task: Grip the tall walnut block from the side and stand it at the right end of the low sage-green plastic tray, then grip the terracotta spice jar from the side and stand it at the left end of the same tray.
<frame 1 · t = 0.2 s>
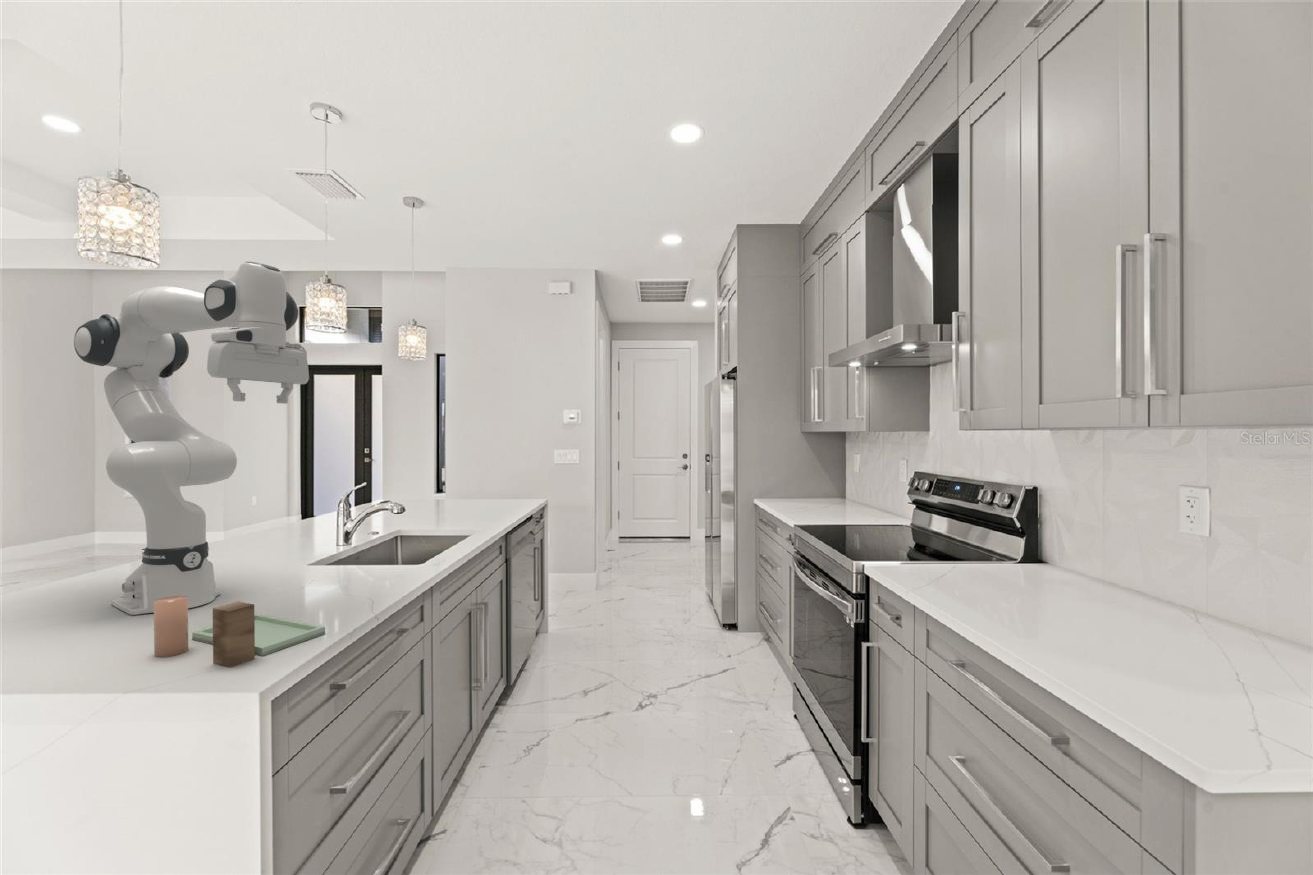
hand: (261, 402, 131), 48 cm above the worktop, tool pointing down, fingers open, 8 cm apart
walnut block: (234, 661, 110), on the worktop
tray: (259, 636, 122), on the worktop
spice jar: (171, 652, 114), on the worktop
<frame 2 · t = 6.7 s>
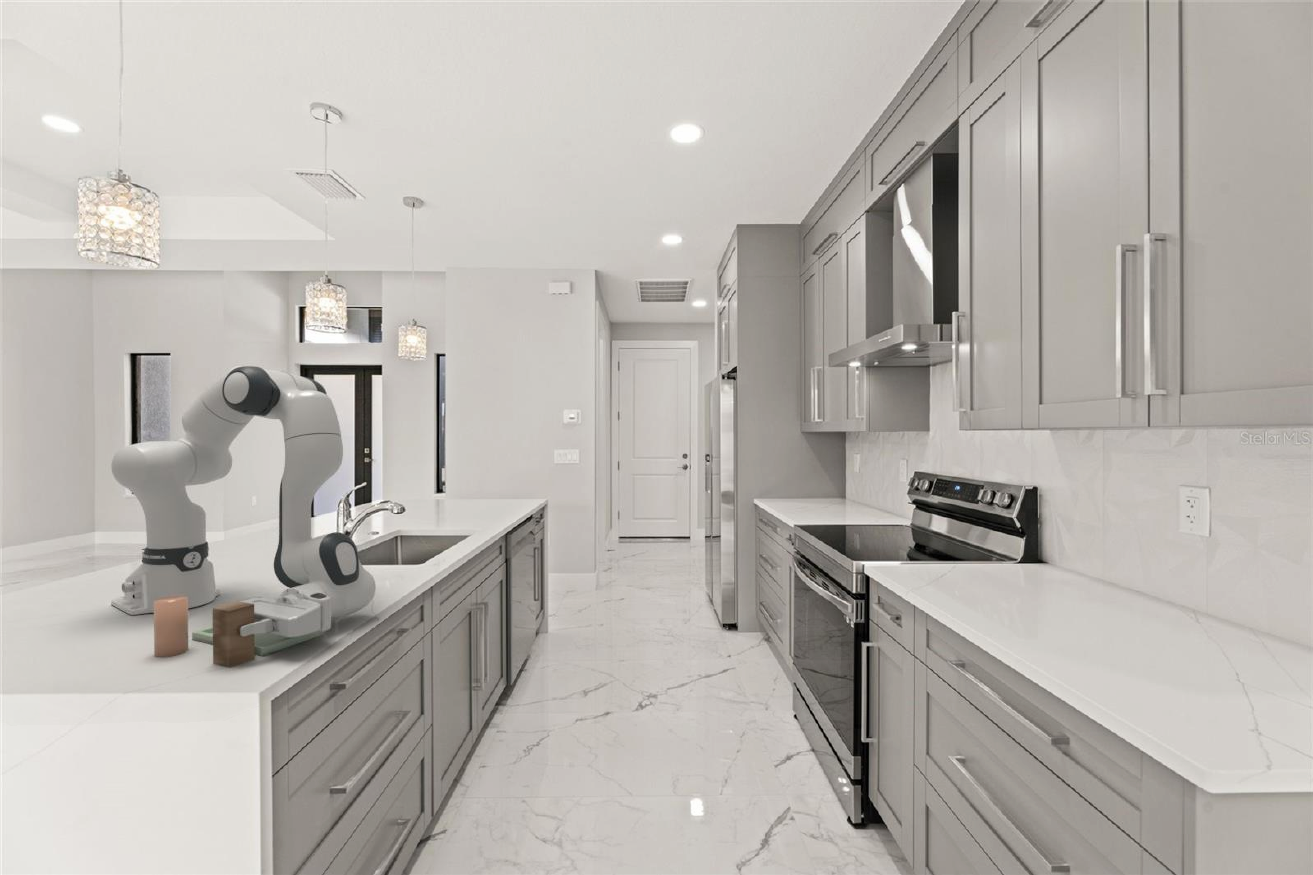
hand: (228, 629, 109), 6 cm above the worktop, tool horizontal, fingers closed on walnut block, 4 cm apart
walnut block: (234, 660, 110), on the worktop, touching gripper
everything else where it was.
when the fingers open (8 cm above the worktop, at t = 23.3 s): walnut block stays where it is, resting on tray.
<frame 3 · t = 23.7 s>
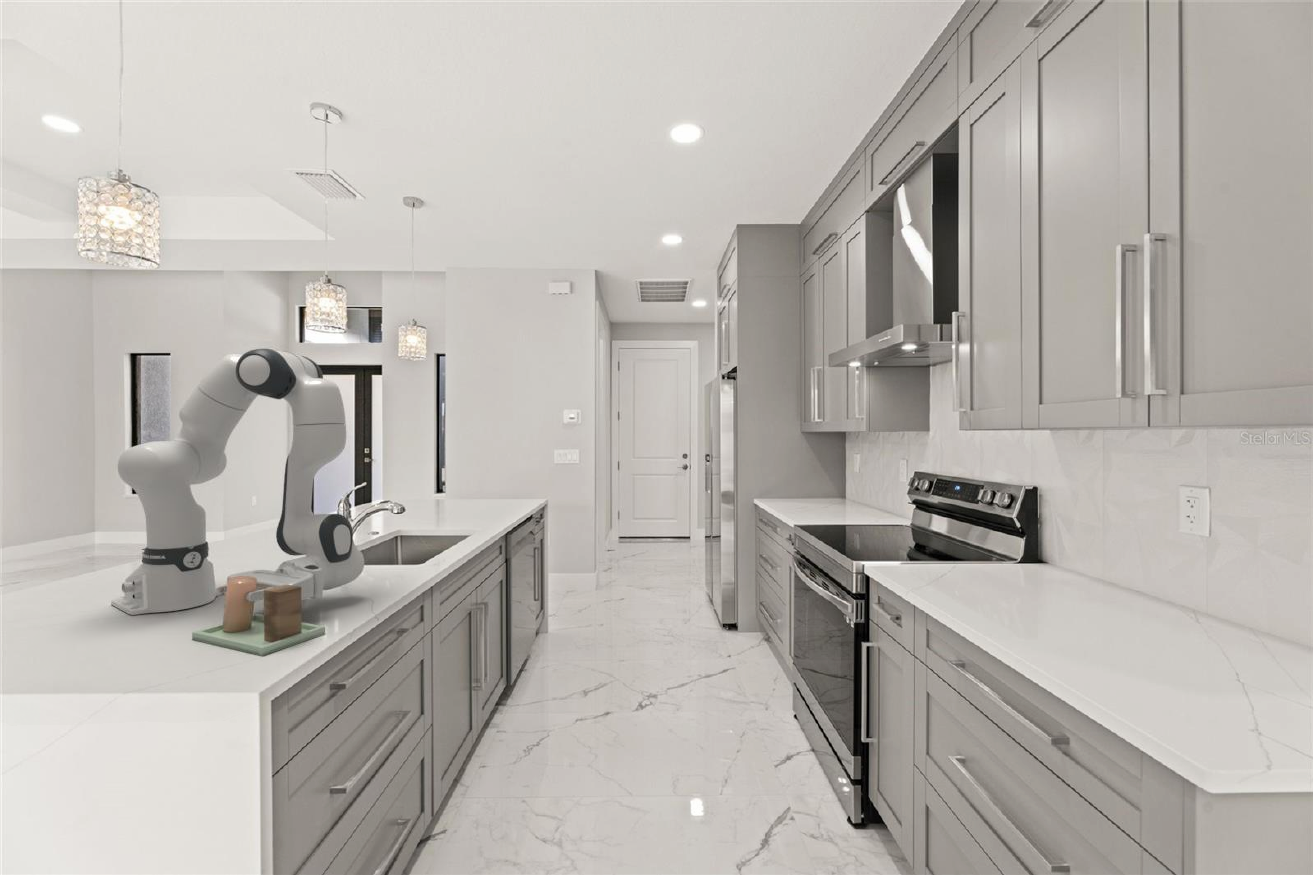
hand: (232, 594, 124), 8 cm above the worktop, tool horizontal, fingers open, 8 cm apart
walnut block: (283, 638, 119), point 1 cm above the worktop, touching tray
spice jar: (237, 626, 125), point 1 cm above the worktop, tilted 10°, touching tray
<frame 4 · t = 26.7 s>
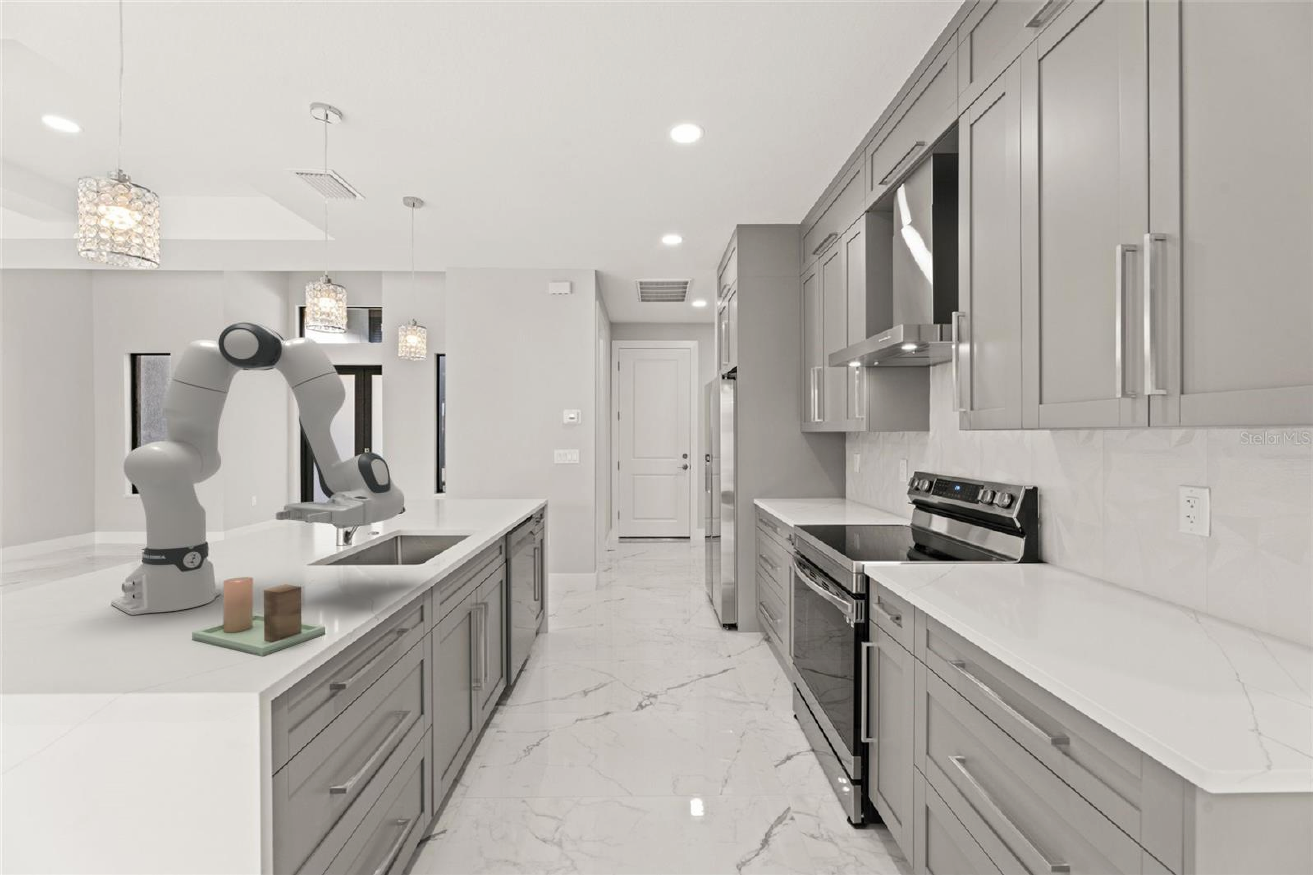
hand: (292, 517, 135), 22 cm above the worktop, tool horizontal, fingers open, 8 cm apart
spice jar: (238, 628, 125), point 1 cm above the worktop, touching tray
everything else where it was.
at the end: walnut block inside the target area on the tray (6.9 cm from its centre), point 0.6 cm above the tray's base; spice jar inside the target area on the tray (6.9 cm from its centre), point 0.7 cm above the tray's base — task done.
